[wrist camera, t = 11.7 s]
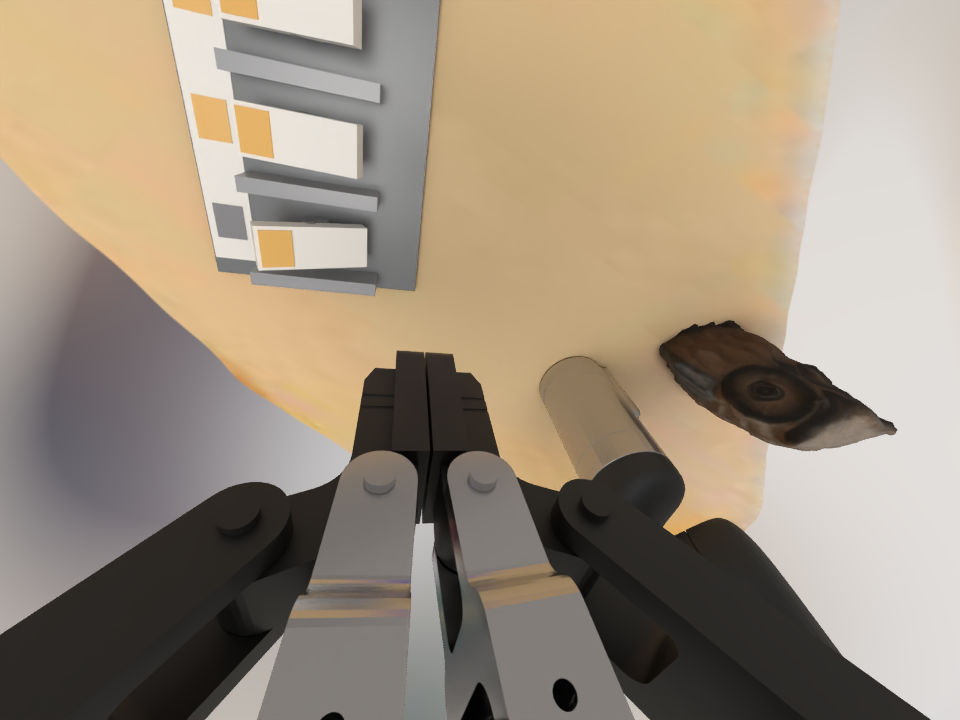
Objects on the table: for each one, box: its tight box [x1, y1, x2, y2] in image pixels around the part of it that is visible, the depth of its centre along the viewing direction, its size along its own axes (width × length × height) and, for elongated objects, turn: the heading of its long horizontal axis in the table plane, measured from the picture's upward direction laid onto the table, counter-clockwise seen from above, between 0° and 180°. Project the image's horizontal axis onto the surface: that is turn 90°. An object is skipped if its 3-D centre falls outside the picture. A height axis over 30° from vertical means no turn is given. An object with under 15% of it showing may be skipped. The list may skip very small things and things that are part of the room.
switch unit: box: [162, 0, 440, 296], centre depth 30 cm, size 19×26×4 cm
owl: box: [659, 320, 897, 451], centre depth 45 cm, size 13×13×20 cm
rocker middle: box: [230, 99, 363, 179], centre depth 28 cm, size 9×4×2 cm, turn 80°
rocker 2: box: [250, 220, 367, 271], centre depth 32 cm, size 9×4×2 cm, turn 80°
